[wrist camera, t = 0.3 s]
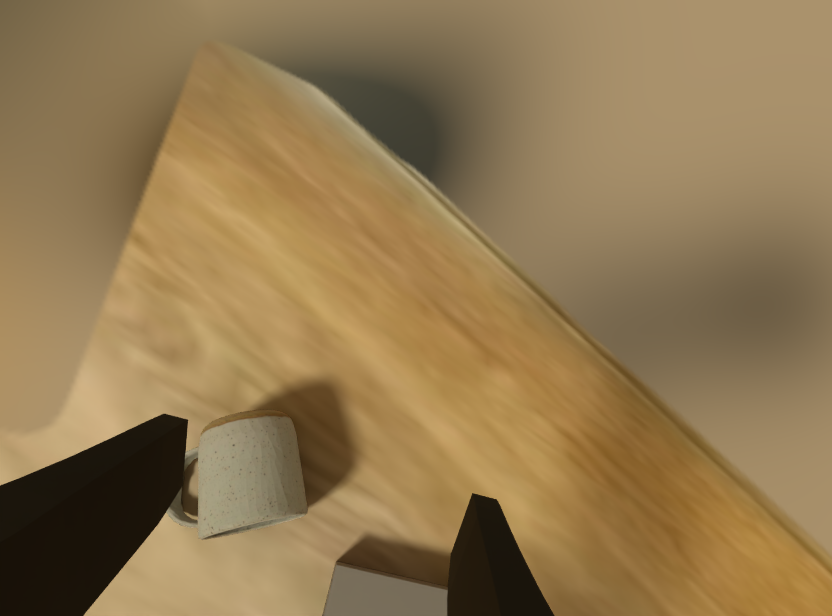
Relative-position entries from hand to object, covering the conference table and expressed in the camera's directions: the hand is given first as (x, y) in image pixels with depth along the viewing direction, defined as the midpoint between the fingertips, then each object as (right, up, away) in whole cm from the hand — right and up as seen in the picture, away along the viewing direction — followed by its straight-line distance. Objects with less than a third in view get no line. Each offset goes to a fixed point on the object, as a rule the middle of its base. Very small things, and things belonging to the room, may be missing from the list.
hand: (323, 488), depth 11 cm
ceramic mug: (-12, -10, +27) cm, 32 cm away
